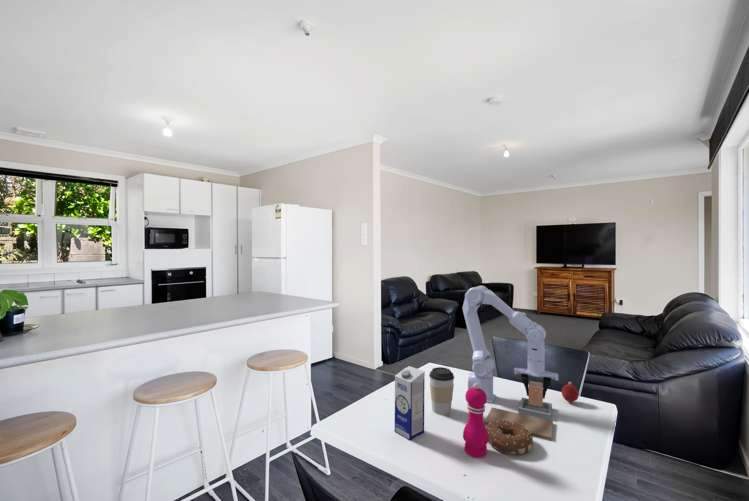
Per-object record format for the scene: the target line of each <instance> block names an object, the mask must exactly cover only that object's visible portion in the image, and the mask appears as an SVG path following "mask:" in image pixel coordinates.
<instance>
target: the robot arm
mask: <svg viewBox="0 0 749 501" xmlns="http://www.w3.org/2000/svg"><path fill="white" fill-rule="evenodd" d="M481 305H491V306H492V307H493V308H495V309H496V310H498V311H499V312H500V313H501V314H503V315H504V316H506V317H507V318H508V320H509V323H510V324H511V325H512V326H513V327H514V328H515V329H517V330H518V331H519V332H520V333H522V334H523V335H524V336H525V338H526V340H527V357H526V358H527V362H526V363H527V364H526V366H527V367H526V368H525V367H514V368H513V369H514V372H513V373H514V375H520V378H521V379H520V380H521V381H522V382H523V386H524V388H525V392H526V396H527V397H529V377H535V378H541V379H542V383H543V400H545V398H546V393H547V391H548V389H549V387H550V385H551V383H552V380H554V381H557V382H558V381H559V373H557V372H552V371H548V370H545V367H546V366H545V362H546V360H545V359H546V357H545V356H546V354H545V352H546V351H545V350H546V347H545V344H546V343H545V338H546V337H547V336H546V335H547V332H546V330H545V328H544V327H543V326H542V324H541V325H540V324H538V323H537V322H536V321H533V320H531V319H530V318H528V316H527V313H525V312H521V311H515V310H514V309H512V307H510V306H509V305H508V304H507V303H506V302H504V300H502V299H501V298H500V297H499V296H498V295H496V294H495V293H494V291H492V290H491V289H488V288H487V287H486V286H484V285H478V286H474V287H470V288H469V289H468V290H467V291H466V292H465V293H464V300H463V304H462V313H463V316H464V320H465V325H466V328H467V329H466V330H467V332H468V336H469V339H470V343H471V344H470V345H471V347H472V351H473V353H472V358H471V360H472V367H471V368H472V371H473V372H470V373H469V374H468V378H467V390H468V389H470V388H473V384H474V383H478V384H479V388H480V389H482V390H483V391H484V392H485V393H486V396H487V402H486V403H490V404H492V403H493V401H494V399H495V398H496V394H495V393H494V372H493V370H494V369H495V367H496V363H495V360H494V359H493V357H492V356H491V353H490V351H489V350H488V348H487V345H486V342H485V341H486V340H485V338H484V335H483V331H482V327H481V323H480V318H479V315H478V309H479V308H480V306H481Z"/></svg>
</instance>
